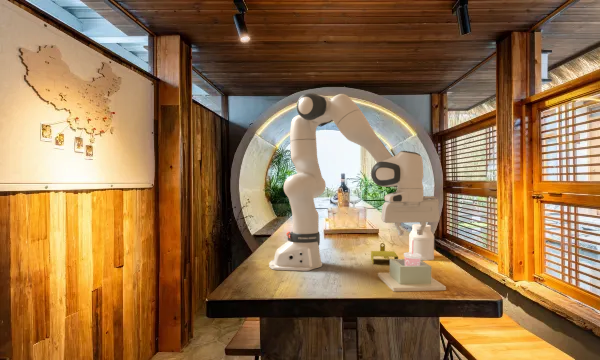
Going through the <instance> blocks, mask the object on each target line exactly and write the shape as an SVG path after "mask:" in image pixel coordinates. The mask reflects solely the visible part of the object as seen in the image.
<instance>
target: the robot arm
mask: <svg viewBox="0 0 600 360" xmlns="http://www.w3.org/2000/svg"><path fill="white" fill-rule="evenodd" d="M296 112H297V113H298V114H297V115H295V116H294V117H293V118H292V120H291V122H290V132H289V134H290V137H289V140H290V141H289V142H290V158H291V162H292V163H293V165H294V168H295V171H296V173H294V174H293V175H290V176H289V177H287V178H286V179H285V180H284V183H283V192H284V194H285V196H287V199H288V201H289V205H290V209H291V215H292V219H291V220H292V231H287V232H286V236H287V241H286V242H285V243H283V244H282V245H280V246H279V247H278V248H277V249H276V250H275V252H274V259H272V260H270V261H269V263H268V266H269V268H270V269H272V270H273V271H274V270H276V271H277V270H278V271H300V272H301V271H304V272H305V271H307V272H309V271H311V270H314V269H317V268H321V267H322V266H323V263H322V258H321V254H320V243H321V234H320V231H319V229H320V227H319V226H320V225H319V216H320V215H319V212H318V211H317V209H316V205H315V199H316V198H318V197H320V196H321V195H322V194H323V193H324V192H325V190H326V181H325V179H324V178H323V175H322V171H321V167H320V164H319V160H318V159H319V158H318V149H317V128H318V127H324V126H325V125H328V124H330V123H334V124H335V126H336V127H337V129H338V131H339V132H340V133H341V134H342V135H343V136H344V137H345V138H346V140H348V141H350V142H351V143H354V144H356V145H358V146H359V147H362V148H363V149H365V150H366V151H367V152H368V153H369V154H370V156H371V157H372V158H373V160H374V161H375V164H374V165H373V167H372V168H371V172H370V176H371V179H372V181H373V183H374V184H376V185H377V186H380V187H382V188H383V187H384V188H387V187H388V188H391V187H392V188H397V191H395V192H391V193H388V194H386V195H384V197H383V198H384V201H385V202H384V203H383V204H382V208H381V220H382V222H383V223H385V224H393V223H394V226H395V228H396V230H397V235H398V236H404V235H405V234H404V232H405V231H404V230H403V229H401V226H402V225H401V224H403V223H405V224H407V223H410V224H411V223H413V224H415V223H419V224H420V225H421V227H420V229H419V230H417V235H423V230H424V228H425V226H426V225H427V223H437V222H439V220H440V210H439V209H440V208H439V205H440V202H439V199H438V197H436V196H434V195H431V196H430V195H429V196H428V195H427V196H426V195H424V184H423V178H424V162H423V157H422V155H421V154H420V153H418V152H415V151H408V150H401V151H399V152H398V153H397V154H396V155H394V156H393V155H392V154H391V152H390V151H389V150H388V148H387V147H386V146H385V145H384V143H383V142H382V141H381V140H380V138H379V137H378V135H377V134H376V132H375V131H374V129H373V128H372V126H371V125H370V122H369V121H368V118H366V116H365V114H364V113H363V112H362V110H361V109H360V107H359V106H358V105H357V104H356V103H355V102H354V101H353V100H352V99H351V97H349V95H348V94H346V93H345V94H344V93H339V94H337V95H334V96H333V97H331V98H330V97H327V96H325V95H323V94H322V95H321V94H316V93H313V92H312V93H311V92H310V93H308V92H307V93H305V94H304V93H303V94H302V95H301V96H300V97H299V98H298V100H297V102H296Z"/></svg>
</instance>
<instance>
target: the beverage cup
mask: <svg viewBox="0 0 600 360" xmlns="http://www.w3.org/2000/svg"><path fill="white" fill-rule="evenodd" d="M413 246H414V240H412V252H409V251H408V252H403V257H404V258H403V259H405V266H417V265H420V258H421V254H418V253H413Z"/></svg>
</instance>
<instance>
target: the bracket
mask: <svg viewBox="0 0 600 360" xmlns="http://www.w3.org/2000/svg"><path fill="white" fill-rule="evenodd" d="M382 245H383V246H382ZM379 247H380V248H379V249H380V250H371V251H370V259H371V262H372V263H374V257H382V258H383V259H386V260H390V257H391V258H392V257H393V259H399V256H398V254H397V253H396V251H392V250H388V251H387V250H385V249H386V244H385V243H383V242H382V243H380V245H379Z"/></svg>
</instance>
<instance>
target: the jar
mask: <svg viewBox="0 0 600 360" xmlns="http://www.w3.org/2000/svg"><path fill="white" fill-rule="evenodd" d="M420 227H421V225H420V223H416V224H415V223H413V224H412V227H411V228H412V230H411V231H410V232H409V235H408V237H409V238H408V239H409V240H408V250H409V251H408V252H412V240H414V246H413V253H418V254H421V258H420V260H421V261H433V260H434V259H435V235H434V233H433V232H432V225H431V224H426V226H425V228H424V230H423V235H417V230H419V229H420Z"/></svg>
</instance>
